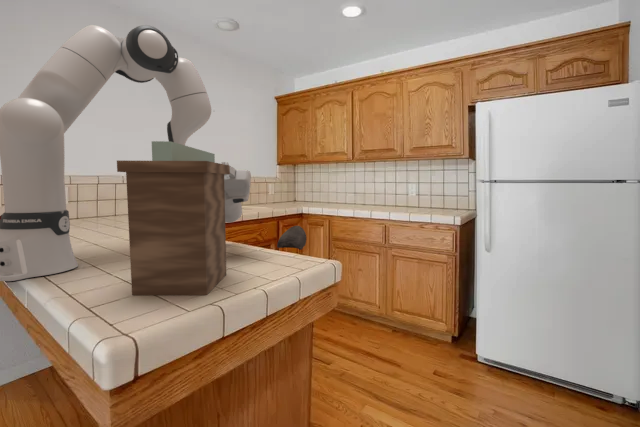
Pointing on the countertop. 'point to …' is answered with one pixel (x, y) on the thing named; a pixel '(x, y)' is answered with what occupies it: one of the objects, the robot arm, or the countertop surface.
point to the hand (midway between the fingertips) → (205, 164)
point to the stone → (293, 238)
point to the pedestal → (176, 226)
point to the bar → (178, 152)
